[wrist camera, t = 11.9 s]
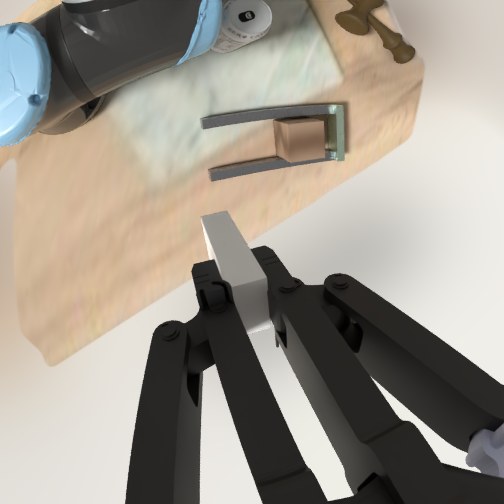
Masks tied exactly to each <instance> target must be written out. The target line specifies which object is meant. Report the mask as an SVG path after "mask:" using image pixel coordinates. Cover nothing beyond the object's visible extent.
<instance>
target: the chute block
mask: <svg viewBox="0 0 504 504" xmlns="http://www.w3.org/2000/svg"><path fill="white" fill-rule="evenodd" d="M273 123H274V134H275V146H276V155H278V156H280V157H282V158H283V159H285V160H287V161H288V162H290V163H293V162H299V161H306V160H313V159H320V158H325V139H324V121H321V120H317V119H314V118H309V117H297V118H287V119H278V120H273Z"/></svg>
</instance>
